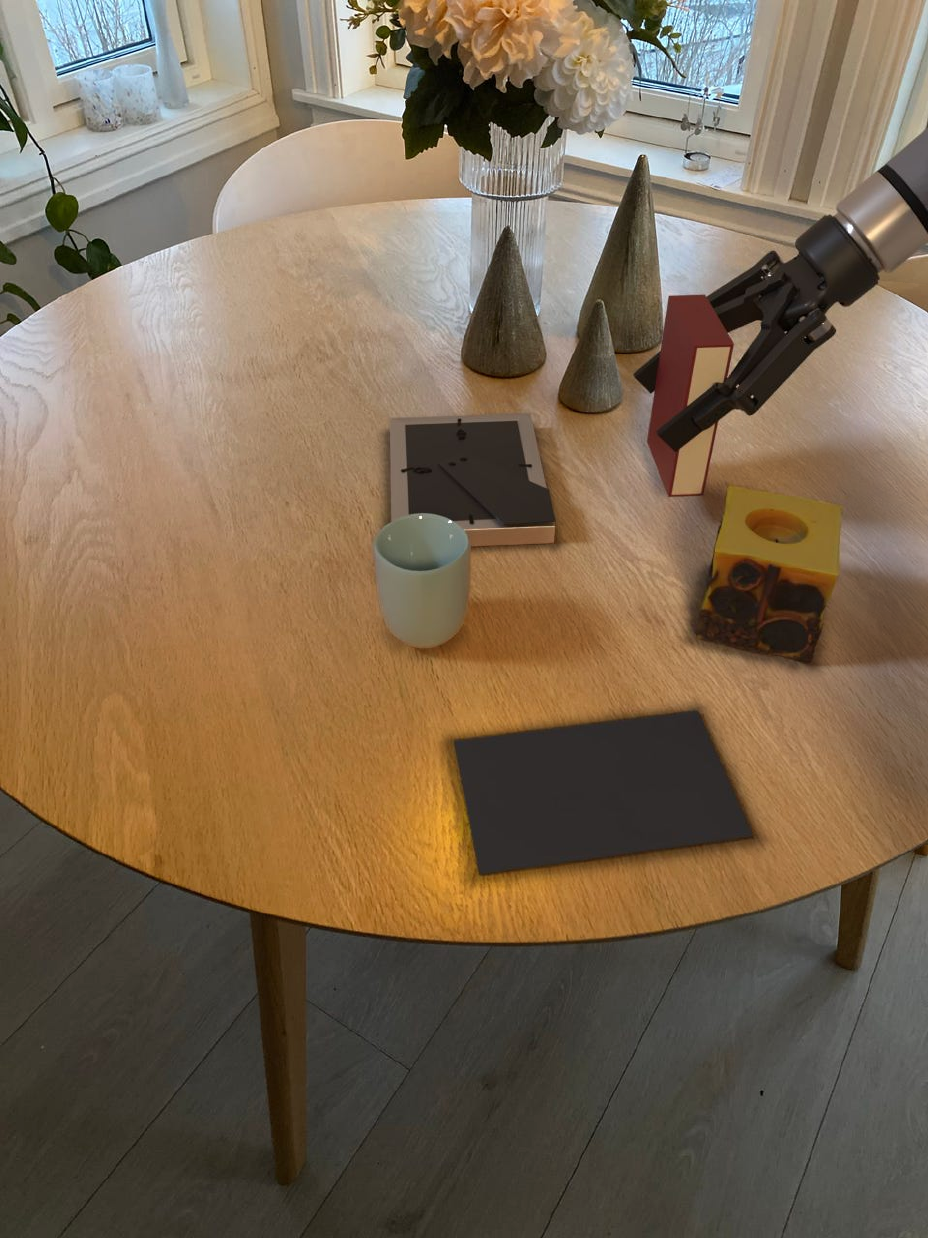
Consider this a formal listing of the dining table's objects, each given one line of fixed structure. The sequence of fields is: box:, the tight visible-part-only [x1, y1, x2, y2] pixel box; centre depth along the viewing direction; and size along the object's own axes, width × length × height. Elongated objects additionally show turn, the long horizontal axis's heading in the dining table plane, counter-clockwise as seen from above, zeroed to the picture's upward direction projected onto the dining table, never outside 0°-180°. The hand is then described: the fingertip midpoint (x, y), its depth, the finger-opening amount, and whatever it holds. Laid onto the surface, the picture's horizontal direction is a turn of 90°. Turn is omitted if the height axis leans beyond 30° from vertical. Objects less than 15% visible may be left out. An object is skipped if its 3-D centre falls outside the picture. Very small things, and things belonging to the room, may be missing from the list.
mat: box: [453, 710, 754, 876], centre depth 72 cm, size 20×12×1 cm, turn 99°
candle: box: [693, 484, 843, 665], centre depth 83 cm, size 10×10×10 cm
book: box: [646, 293, 735, 498], centre depth 92 cm, size 10×4×16 cm, turn 4°
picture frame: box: [389, 412, 557, 548], centre depth 100 cm, size 16×3×21 cm
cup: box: [372, 513, 472, 649], centre depth 81 cm, size 8×8×10 cm
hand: (653, 411), depth 92 cm, fingers closed on book, 10 cm apart
